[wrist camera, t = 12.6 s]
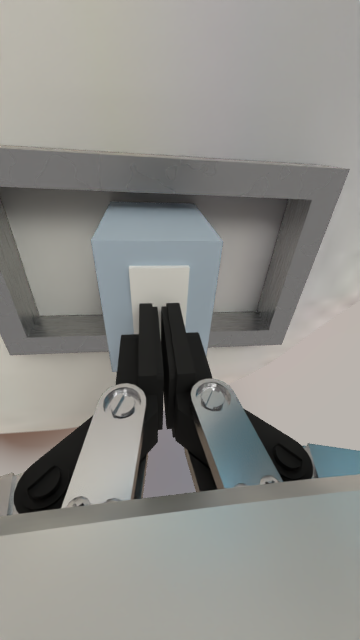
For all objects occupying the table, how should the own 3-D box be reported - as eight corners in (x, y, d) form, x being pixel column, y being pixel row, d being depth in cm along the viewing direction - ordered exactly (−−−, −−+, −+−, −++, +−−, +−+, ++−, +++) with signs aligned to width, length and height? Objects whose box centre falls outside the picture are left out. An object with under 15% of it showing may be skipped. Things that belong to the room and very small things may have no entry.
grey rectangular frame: (321, 165, 15) (349, 169, 13) (268, 325, 22) (281, 344, 20) (-51, 142, 12) (-89, 142, 10) (24, 332, 19) (10, 355, 17)
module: (193, 203, 15) (224, 243, 10) (186, 300, 19) (205, 370, 14) (110, 201, 15) (89, 242, 9) (121, 302, 19) (111, 375, 13)
